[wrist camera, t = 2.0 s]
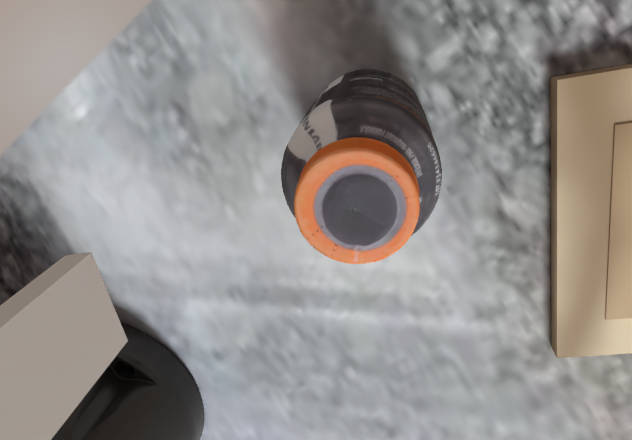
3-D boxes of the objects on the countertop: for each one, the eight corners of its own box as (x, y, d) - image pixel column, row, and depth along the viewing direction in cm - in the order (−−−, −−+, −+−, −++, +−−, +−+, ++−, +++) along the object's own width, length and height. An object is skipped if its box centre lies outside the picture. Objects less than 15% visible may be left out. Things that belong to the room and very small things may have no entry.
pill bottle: (291, 99, 25) (227, 163, 15) (397, 46, 23) (409, 77, 13) (340, 197, 27) (313, 314, 17) (442, 155, 25) (481, 256, 15)
